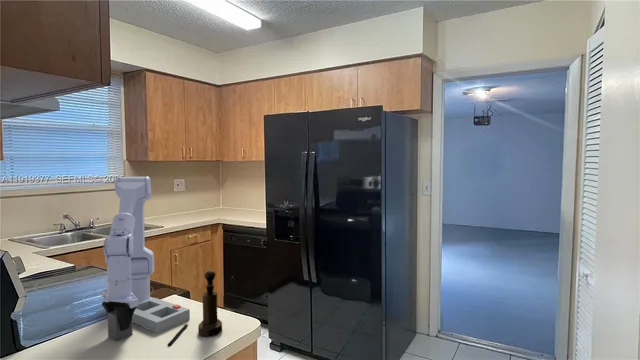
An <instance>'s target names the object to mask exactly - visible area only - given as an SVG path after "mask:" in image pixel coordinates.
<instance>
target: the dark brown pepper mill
mask: <svg viewBox="0 0 640 360" xmlns="http://www.w3.org/2000/svg"><path fill="white" fill-rule="evenodd" d="M216 275H217V274H216V271H215V270H214V269H213V268H209V269H206V270H205V271H204V279H205V280H206V282H207V284H205V289H206V291H205V292H203V293H202V320H201V322H199V324H198V329H197V332H198V333H197V334H198V335H199V336H200V337H202V338H203V337H204V338H212V337H215V336H218V335H221V333H222V331H223V323H222V322H223V321H221V320H220V319H219V318H218V292H217V291H214V288H215V284H214V282H213V281H214V279H215V278H216Z"/></svg>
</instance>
